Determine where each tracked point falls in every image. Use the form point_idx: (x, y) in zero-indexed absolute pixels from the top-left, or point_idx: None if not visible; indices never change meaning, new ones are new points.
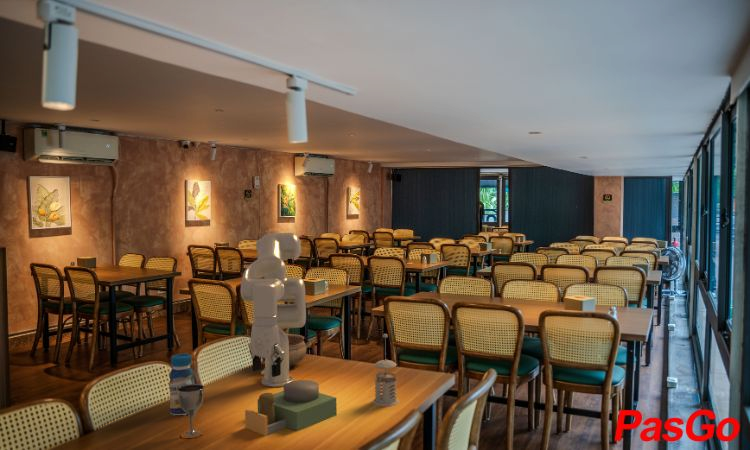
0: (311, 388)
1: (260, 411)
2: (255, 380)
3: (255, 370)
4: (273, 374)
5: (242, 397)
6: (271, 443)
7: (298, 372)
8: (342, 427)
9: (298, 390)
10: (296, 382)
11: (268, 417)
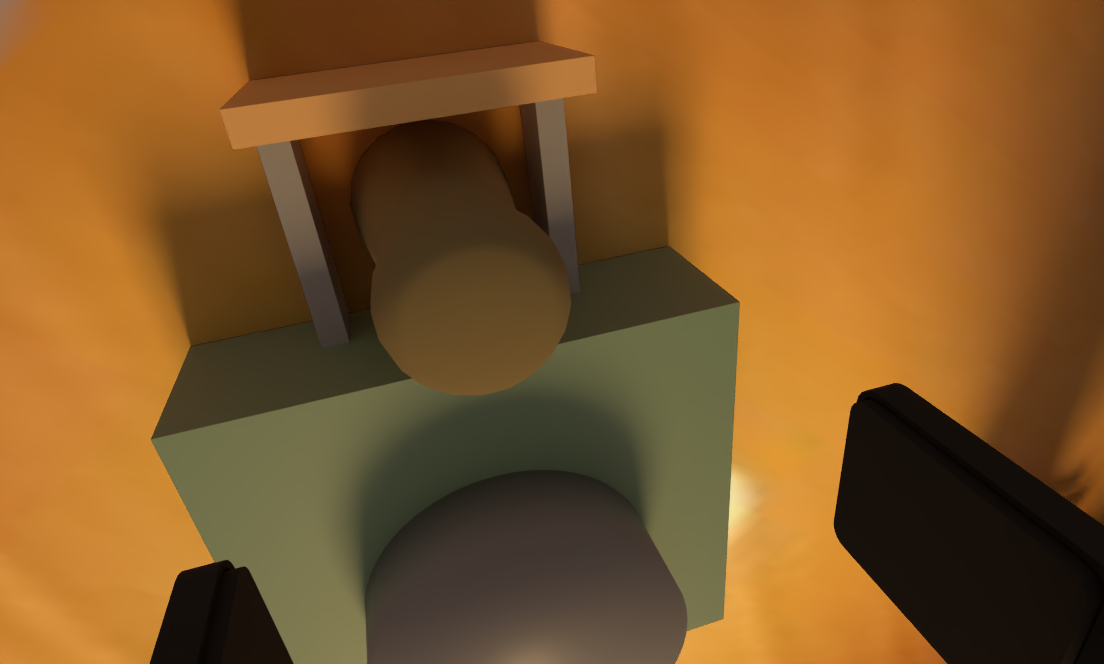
0: None
1: (461, 178)
2: (1086, 475)
3: (852, 424)
4: (171, 628)
5: (995, 320)
6: (4, 20)
7: None
8: (65, 608)
9: (427, 624)
10: (634, 658)
11: (372, 211)
